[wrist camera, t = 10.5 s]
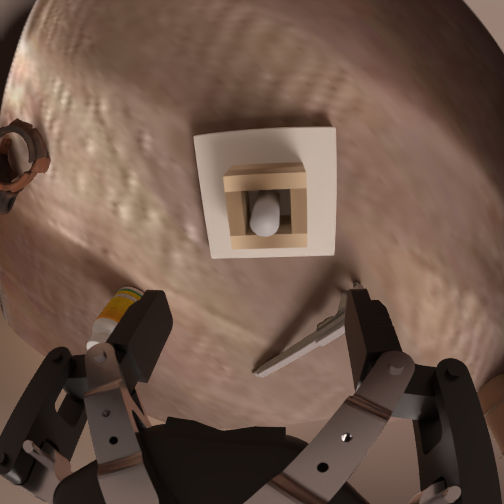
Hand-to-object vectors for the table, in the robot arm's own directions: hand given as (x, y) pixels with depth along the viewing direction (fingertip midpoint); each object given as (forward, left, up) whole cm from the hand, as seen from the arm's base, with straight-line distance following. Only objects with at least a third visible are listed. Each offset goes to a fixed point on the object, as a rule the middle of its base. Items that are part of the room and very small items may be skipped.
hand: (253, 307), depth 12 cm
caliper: (-3, +18, -17) cm, 25 cm away
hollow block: (0, 0, -15) cm, 15 cm away
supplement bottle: (+18, +13, -17) cm, 28 cm away
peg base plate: (0, 0, -16) cm, 16 cm away
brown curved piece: (+30, -8, -17) cm, 35 cm away
